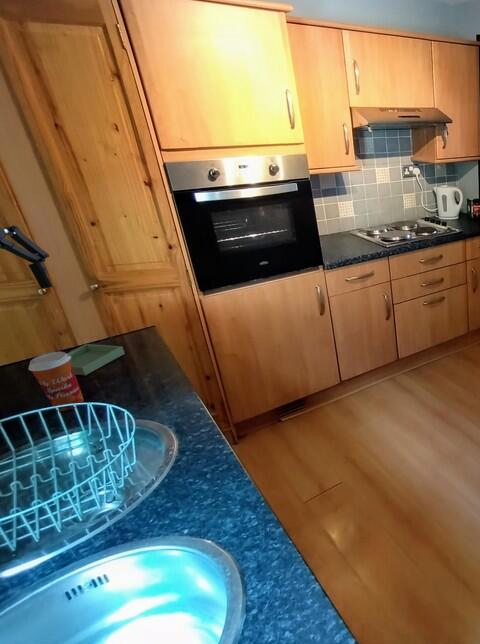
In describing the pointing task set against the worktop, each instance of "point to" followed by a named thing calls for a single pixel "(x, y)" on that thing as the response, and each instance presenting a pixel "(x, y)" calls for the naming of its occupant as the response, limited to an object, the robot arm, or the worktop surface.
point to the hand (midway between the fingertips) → (17, 297)
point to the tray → (93, 357)
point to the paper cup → (57, 378)
